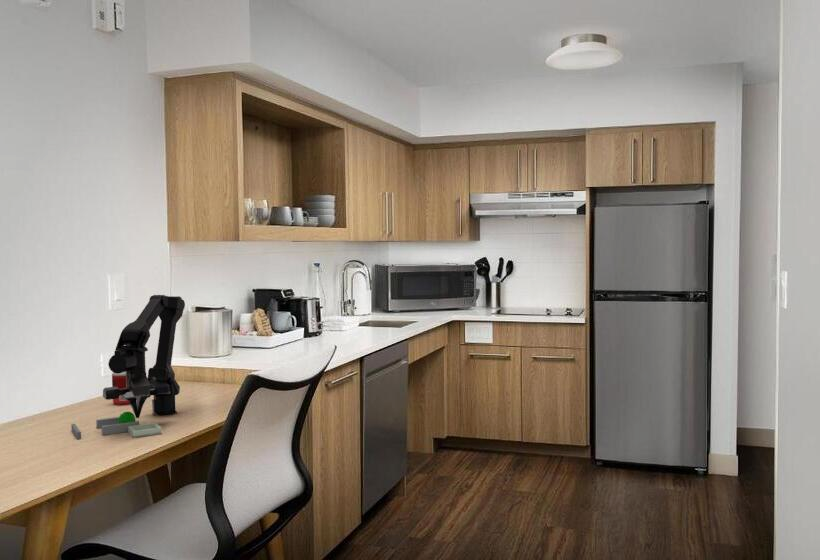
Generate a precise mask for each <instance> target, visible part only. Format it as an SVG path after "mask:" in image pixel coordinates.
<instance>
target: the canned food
mask: <svg viewBox="0 0 820 560" xmlns="http://www.w3.org/2000/svg"><path fill="white" fill-rule="evenodd" d="M111 385H112V386H111V387H118V388H119V389H125V388H127V387H126V372H123V373H119V374H117V373H114V372H112V373H111ZM135 397H136V402H137V396H135ZM112 403H113V405H114V406H128V405H130V403H129V401H128V400H126V399H124V398H123V395H120V396H119V397H118V399H112Z"/></svg>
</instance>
